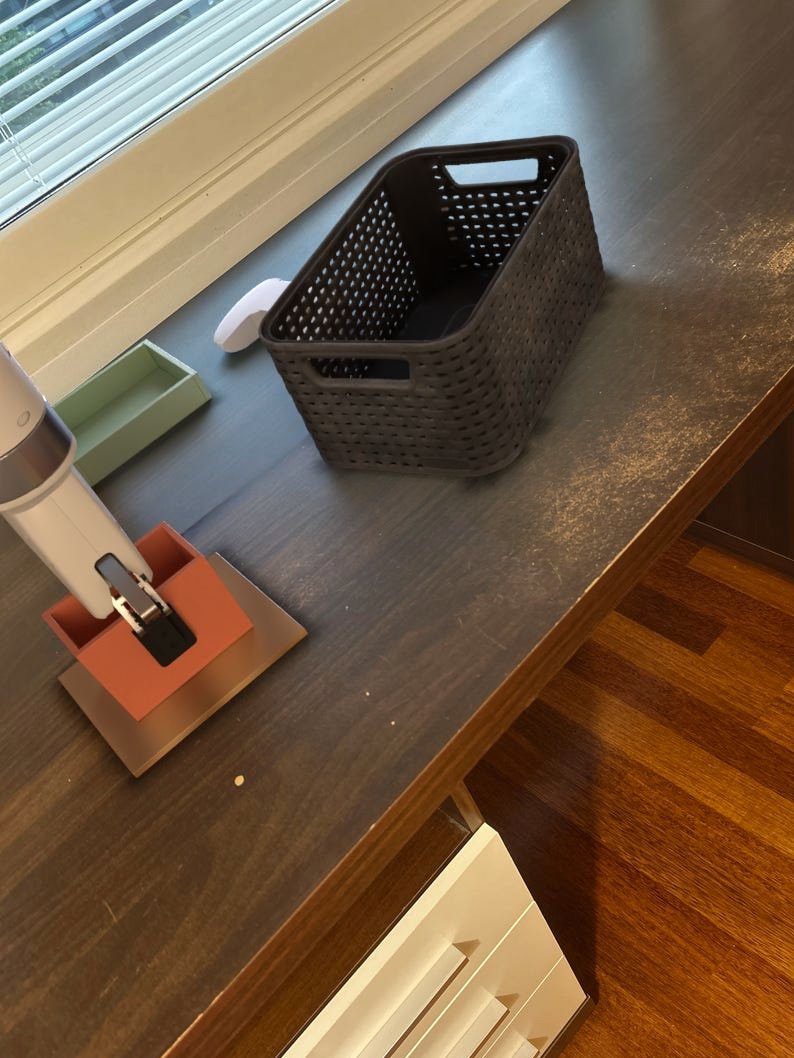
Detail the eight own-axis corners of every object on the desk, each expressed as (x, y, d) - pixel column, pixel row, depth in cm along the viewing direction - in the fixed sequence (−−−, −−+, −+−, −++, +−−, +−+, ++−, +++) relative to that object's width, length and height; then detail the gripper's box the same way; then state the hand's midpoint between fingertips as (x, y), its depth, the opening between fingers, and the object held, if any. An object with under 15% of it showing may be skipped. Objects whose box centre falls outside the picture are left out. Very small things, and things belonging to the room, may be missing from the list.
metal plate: (136, 778, 73) (132, 774, 72) (61, 681, 81) (56, 677, 81) (308, 633, 77) (305, 628, 76) (219, 556, 85) (215, 551, 85)
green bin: (92, 492, 96) (70, 464, 94) (47, 450, 103) (26, 423, 101) (215, 401, 100) (197, 372, 97) (163, 367, 107) (146, 338, 104)
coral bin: (138, 721, 75) (75, 657, 69) (102, 679, 79) (40, 614, 73) (254, 625, 78) (203, 556, 72) (214, 589, 82) (163, 520, 76)
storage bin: (436, 272, 103) (391, 144, 93) (618, 268, 95) (589, 126, 85) (309, 471, 89) (240, 344, 79) (509, 486, 80) (460, 347, 70)
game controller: (198, 337, 102) (247, 261, 105) (223, 366, 106) (270, 291, 108) (303, 354, 95) (353, 271, 97) (327, 384, 98) (374, 303, 101)
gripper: (-86, 439, 67) (71, 610, 81) (7, 547, 57) (170, 723, 70) (9, 374, 69) (147, 551, 83) (116, 466, 59) (254, 652, 72)
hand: (156, 628), depth 76 cm, fingers closed on coral bin, 6 cm apart
